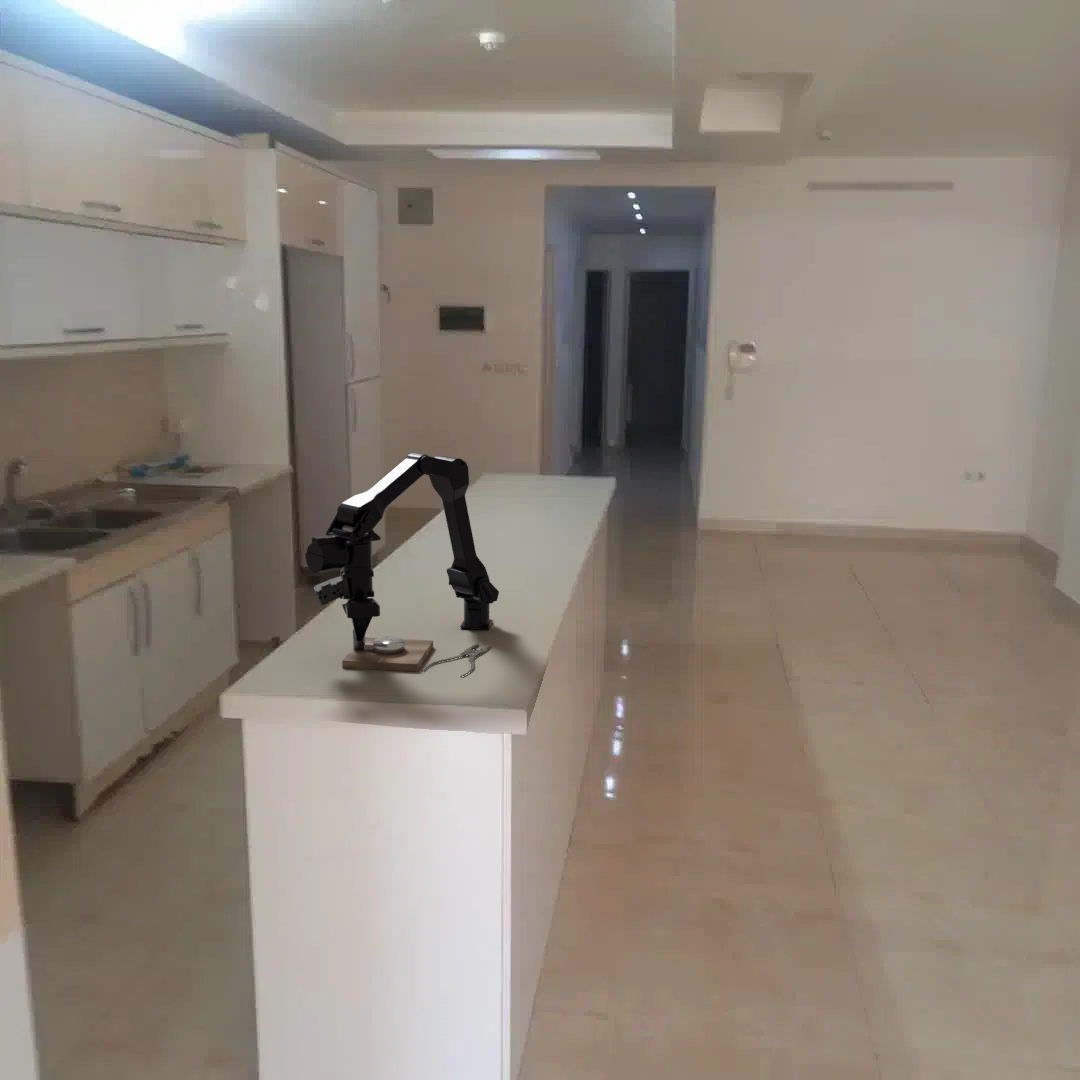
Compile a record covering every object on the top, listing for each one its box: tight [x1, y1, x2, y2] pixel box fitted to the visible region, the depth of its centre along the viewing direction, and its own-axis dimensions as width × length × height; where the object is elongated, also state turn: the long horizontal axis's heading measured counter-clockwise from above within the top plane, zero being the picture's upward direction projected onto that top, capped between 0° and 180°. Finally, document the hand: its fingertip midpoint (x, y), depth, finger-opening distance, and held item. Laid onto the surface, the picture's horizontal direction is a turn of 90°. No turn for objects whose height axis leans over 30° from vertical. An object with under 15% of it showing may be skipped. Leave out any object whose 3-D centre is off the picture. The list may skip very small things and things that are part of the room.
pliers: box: [422, 642, 491, 678], centre depth 206 cm, size 10×1×20 cm
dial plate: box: [341, 636, 434, 672], centre depth 206 cm, size 15×15×2 cm
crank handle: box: [352, 628, 405, 654], centre depth 206 cm, size 10×6×4 cm, turn 92°
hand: (359, 640), depth 203 cm, fingers closed
